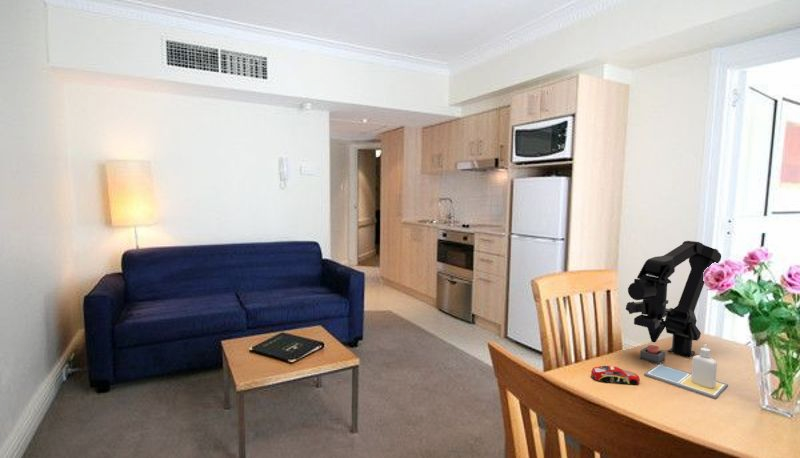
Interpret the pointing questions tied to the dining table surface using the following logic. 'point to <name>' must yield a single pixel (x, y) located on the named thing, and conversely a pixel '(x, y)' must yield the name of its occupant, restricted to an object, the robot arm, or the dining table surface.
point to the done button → (652, 349)
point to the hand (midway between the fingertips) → (653, 341)
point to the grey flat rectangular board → (683, 380)
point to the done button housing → (652, 356)
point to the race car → (614, 375)
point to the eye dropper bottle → (704, 368)
